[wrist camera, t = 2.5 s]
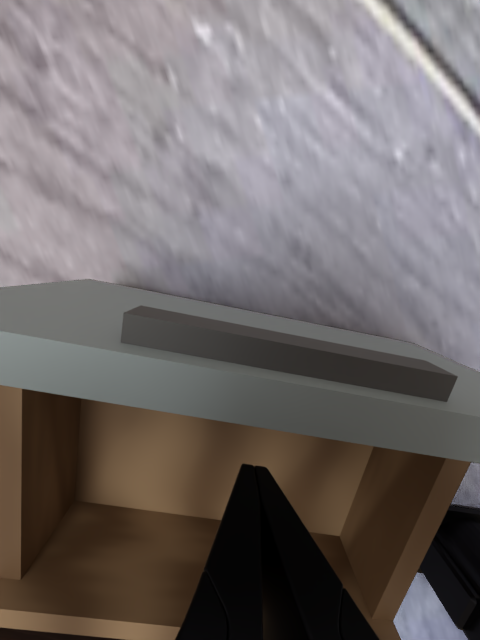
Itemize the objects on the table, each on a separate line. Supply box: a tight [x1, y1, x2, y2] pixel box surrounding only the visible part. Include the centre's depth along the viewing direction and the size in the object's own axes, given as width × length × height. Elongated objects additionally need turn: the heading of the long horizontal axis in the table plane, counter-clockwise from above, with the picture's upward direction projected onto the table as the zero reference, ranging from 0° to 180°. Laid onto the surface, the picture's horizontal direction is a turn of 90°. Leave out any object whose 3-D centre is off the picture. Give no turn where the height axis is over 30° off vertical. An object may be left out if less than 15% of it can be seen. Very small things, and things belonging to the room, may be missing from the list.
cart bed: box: [0, 385, 471, 640], centre depth 13 cm, size 20×14×7 cm
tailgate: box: [0, 279, 480, 464], centre depth 9 cm, size 18×2×8 cm, turn 78°
